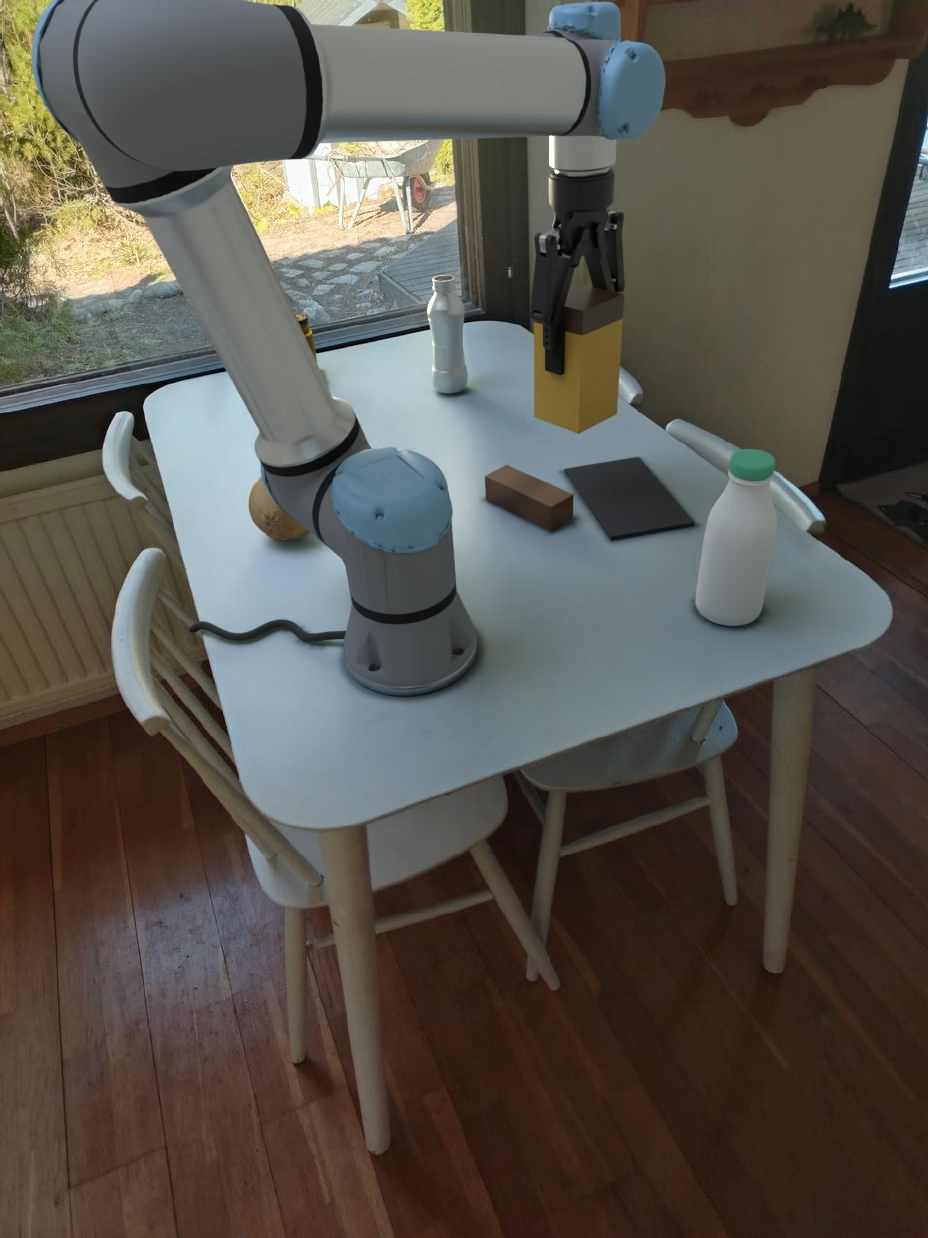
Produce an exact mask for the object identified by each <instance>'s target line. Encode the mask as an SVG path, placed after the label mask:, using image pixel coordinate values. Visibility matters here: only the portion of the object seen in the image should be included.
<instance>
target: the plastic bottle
mask: <svg viewBox="0 0 928 1238" xmlns="http://www.w3.org/2000/svg"><path fill="white" fill-rule="evenodd" d="M456 287H457V286H456V283H455V276H454V275H450V274H440V275H436V276H433V278H432V291H433V292H434V293H433V295H432V297H431V299H429V302H428V304H427V309H426V314H427V319H428V325H429V330H430V334H431V341H432V367H431V368H432V369H431V382H432V386H433V388H434V389H435V390H436V391H437V392H438V393H442V394H455V393H459V392H461V391H463V390H464V389H466V386H467V385H468V381H469V371H468V368H467V364H466V357H465V352H464V350H465V349H464V325H465V314H466V313H465V311H466V308H465V305H464V302H463V301H462V299H461V298H460V296H459V295H458V294H457V293H456V292H455V290H456V289H457V288H456Z"/></svg>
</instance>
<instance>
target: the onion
mask: <svg viewBox="0 0 928 1238" xmlns="http://www.w3.org/2000/svg"><path fill="white" fill-rule="evenodd" d="M248 512H249V515H250V518H251V521H252V523H253V524H254V525H255V526H256V527H257V528H258V529H259V530H260V531H261V532H262V533H263V534H265V535H266V536H267V537H268V538H271V539H273V540H277V541H292V540H296V539H298V540H299V539H301V538H302V537H304V536H307V535H308V534H310V532H309V531H308V530H307V529H306V528H305V527H303V526H302V525H301V524H300V523H299V522H297V521H296V520H294V519H292V518H291V517H289V516H288V515H286V514H285V513H284V512H283V511H282V510H281V509H280V508H279V507H278V506H277V505H276V504H275V502H274V501H273V500H272V498H271V496H270V495H269V493H268V492H267V490H266V488H265V485H264V483H263V480H262V476H261V475H260V477H259V478H258V479H257V480H256V481H255V483H254V484H253V486H252V487H251V489H250V492H249V496H248Z"/></svg>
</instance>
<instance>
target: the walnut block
mask: <svg viewBox="0 0 928 1238" xmlns="http://www.w3.org/2000/svg"><path fill="white" fill-rule="evenodd" d="M484 489H485V492H484V493H485V501H487V502H488V503H491V504H493V505H495V506H497V507H499V508H500V509H503V510H505V511H507V512H510V513H512V514H513V515H515V516H517V517H520V518H522V519H523V520H525V521H527V522H530V523H532V524H534V525H536V526H538V527H540V528H542V529H544V530H546V531H548V532H550V533H552V532H554V531H555V530H557V529H559V528H561V527H563V526H564V525H566V524H567V523H570V522H572V521H573V520H574V498H575V497H574V493H571V492H569V491H567V490H565V489H563V488H560V487H558V486H556V485H553V484H551V483H549V482H547V481H544V480H542V479H540V478H538V477H535V476H533V475H531V474H529V473H526V472H524V471H522V470H520V469H517V468H515V467H512V466H510V465H509V464H505V465H504V466H501V467H499V468H497V469H496V470H493V471H491V472H490V473H487V474H485V475H484Z"/></svg>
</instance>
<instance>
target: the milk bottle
mask: <svg viewBox="0 0 928 1238" xmlns="http://www.w3.org/2000/svg"><path fill="white" fill-rule="evenodd" d="M728 465H729V466H728V470H727V471H728V472H727V476H728V477H729V480H728V483H727V484H726V486H725V488H724V490H723V492H722V493H721V495H720V496H719V497H718V499H717V500H716V502H715V503H714V504H713V506H712V508H711V510H710V512H709V514H708V517H707V521H706V525H705V530H704V535H703V541H702V548H701V555H700V564H699V567H698V568H699V569H698V574H697V575H698V576H697V583H696V592H695V600H694V603H695V607H696V609H697V611H698V613H699V614H700V615H701V616H702V617H703V618H705V620H708V621H709V622H712V623H713V624H714V623H715V624H717V625H721V626H727V627H739V626H745V625H748V624H750V623H752V622H754V621H755V620H756V619H757V618H758V617H759V616H760V615H761V613H762V610H763V606H764V602H765V598H766V593H767V588H768V583H769V577H770V572H771V568H772V562H773V556H774V552H775V546H776V541H777V540H776V539H777V532H778V516H777V512H776V509H775V505H774V502H773V500H772V496H771V490H770V488H771V487H770V483H771V482H772V480H773V479H774V473H775V469H776V458H775V457H774V455H772V454H771V453H770V452H768V451H765V450H762V449H756V448H743V449H739V450H736V451H735V452H733V453H732V455H731V456H730V457H729V463H728Z"/></svg>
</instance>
